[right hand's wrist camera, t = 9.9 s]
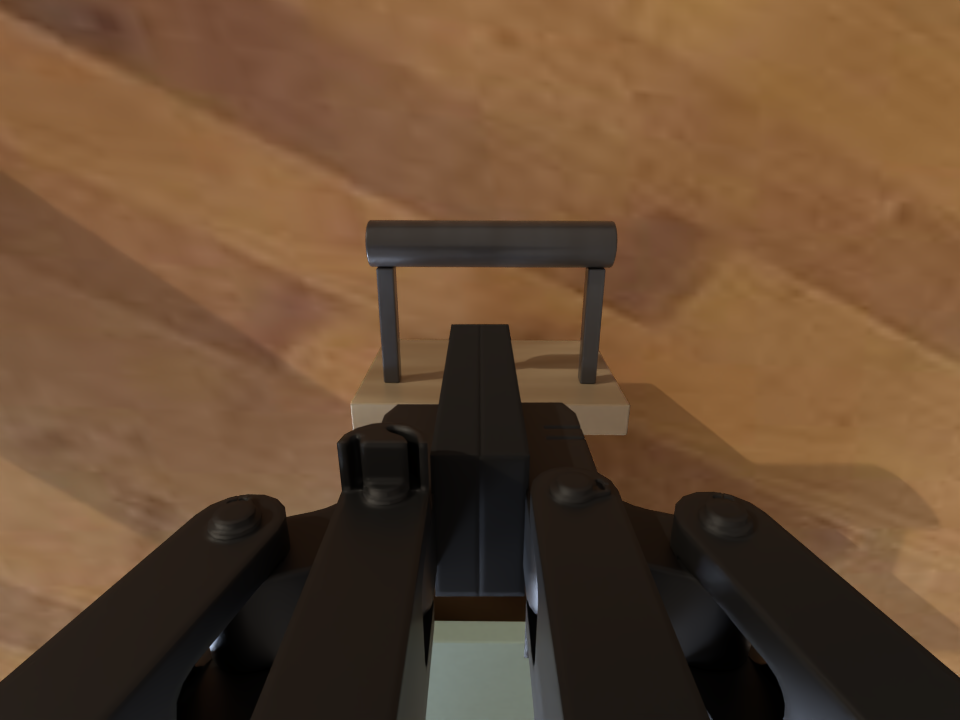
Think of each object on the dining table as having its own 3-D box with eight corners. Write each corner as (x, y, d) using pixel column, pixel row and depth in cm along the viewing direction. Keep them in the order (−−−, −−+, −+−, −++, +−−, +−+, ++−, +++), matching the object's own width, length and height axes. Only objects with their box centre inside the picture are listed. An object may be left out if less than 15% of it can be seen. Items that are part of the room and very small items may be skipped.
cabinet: (388, 502, 29) (349, 640, 21) (586, 504, 29) (627, 643, 21) (405, 754, 37) (382, 930, 28) (564, 756, 37) (588, 933, 28)
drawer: (376, 206, 23) (333, 228, 16) (604, 207, 23) (650, 229, 16) (404, 645, 32) (384, 770, 25) (568, 647, 32) (589, 772, 25)
